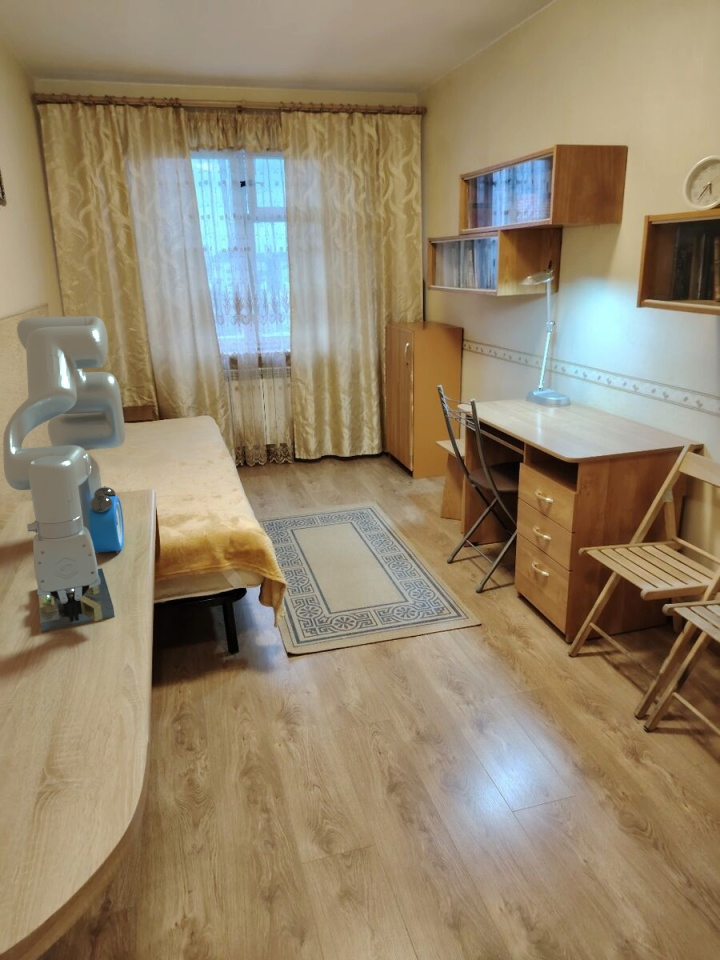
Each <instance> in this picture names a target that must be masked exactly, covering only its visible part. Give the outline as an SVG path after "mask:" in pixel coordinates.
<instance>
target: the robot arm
mask: <svg viewBox="0 0 720 960" xmlns="http://www.w3.org/2000/svg"><path fill="white" fill-rule="evenodd" d="M16 333H17V338H18V339H19V342H20V344H21V345H22V348H24V349H25V351H26V354H25V355H26V369H27V370H26V371H27V372H26V373H27V393H28V396H27V398H26V400H25V401H23V403H21V404H20V406H18V408H17V409H16V410H15V411H14V413H12V415H11V416H10V418H9V420H8V422H7V424H6V426H5V429H4V432H3V437H2V439H3V440H2V447H3V448H2V449H3V451H2V452H3V455H2V456H3V459H2V460H3V472H4V477H5V479H6V482H7V484H8V485H9V486H10V487H11V488H12V489H14V490H18V491H30V493H31V494H30V495H31V500H32V506H33V512H34V519H35V520H33V522H31V523H27V527H26V529H27V532H35V535H34V538H33V549H32V550H33V551H32V552H33V563H34V564H33V565H34V572H35V579H36V584H37V585H36V586H37V590H36V591H37V592H36V593H37V595H43V596H49V595H51V596H53V597H55V598H57V599H58V600H60V601H61V602H62V603H63V607H64V613H65V617H66V616H69V619H70V622H73V621H74V618H75V620H76V621H79V615H78V614H82V608H81V601H80V600H81V598H82V596H83V595H84V594H85V593H86V591H87V590H88V589H89V588H92V587H95V586H97V585H99V584H100V583H101V581H100V577H99V575H98V569H99V568H98V561H97V557H96V552H95V551H94V546H93V542H92V539H91V535H90V527H89V507H90V502H91V499H92V498H94V493H95V491H96V490H97V489H99V488H102V486H103V485H102V480H101V479H102V478H101V471H100V466H99V464H98V462H97V461H96V459H95V458H94V457H93V456H92V455H91V454H89V452H87V451H92V450H103V449H112V448H113V449H114V448H118V447H121V446H122V445H123V444H124V443H125V439H126V427H125V418H124V411H123V404H122V403H123V402H122V396H121V390H120V386H119V382H118V380H117V378H116V377H115V376H114V374H112V373H110V372H105V371H89V372H85V371H84V370H85V369H98V368H103V366H104V365H105V364H106V361H107V358H108V347H109V346H108V343H109V339H108V338H109V337H108V331H107V328H106V324H105V323H104V321H103V320H102V319H101V318H100V317H98V316H94V315H93V316H92V315H90V316H88V315H86V316H83V315H81V316H79V315H78V316H33V317H32V316H31V317H30V316H29V317H25V318H23V319H21V320H20V321H19V322H18V323H17V326H16ZM46 422H48V423H47V433H48V438H49V441H50V443H51V446H40V447H39V446H38V447H29V448H28V447H27V448H22V447H23V446H22V445H23V442H24V439H25V438H26V436H27V435H28V434H29V433H30V432H31V431H33V430H34V429H35V428H37V427H39V426H41V425H42V424H43V423H46ZM71 588H74V593H73V594H72V595H73V596H72V602H71V597H70V596H69V594H67V591H66V589H71ZM72 604H73V608H72ZM73 611H74V615H73Z"/></svg>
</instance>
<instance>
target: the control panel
mask: <svg viewBox="0 0 720 960" xmlns="http://www.w3.org/2000/svg"><path fill="white" fill-rule="evenodd" d="M98 575H99V577H100V581H101V583H100V584H99V585H98V588H99V593H97V594H95V595H91V594H87V593H85V594H84V596H85V597H87V598H89V599H91V600H93V601H94V602H96V603H98V604H100V605H101V611H102V619H100V620H99V621H101V620H105V619H110V618H115V610H114V608H115V607H114V604H113V601H112V597H111V595H110V591H109V587H108V584H107V580H106V577H105V573H104V570H103V568H98ZM37 595H38V594H37ZM37 598H38V608H39V611H38V613H39V623H40V630H41V633H45V632H49V631H54V630H58V629H59V630H60V629H64V628H68V627H74V626H78V625H82V624H87V623H92V622H95V621H94V620H92V619H91V618H89V617H87V616H85V615H84V614H78V615H79V621H76V620H75V618H74V621H73V622H70V619H69V616H66V617H65V613H64V611H60V610H59V609H58V605H57V598H55V597H53V596H51V595H49V596H43V595H38V597H37ZM73 615H74V611H73Z"/></svg>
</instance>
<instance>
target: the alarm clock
mask: <svg viewBox="0 0 720 960" xmlns="http://www.w3.org/2000/svg"><path fill="white" fill-rule="evenodd" d="M122 508H123V507H122V503H121V499H120V497H118V496H117V494H116V491H115V490H114V489H113V488H111V487H108V486H105V485H104V486H103V487H102V488H99V489H97V490H96V491H95V493H94V498H92V499H91V502H90V507H89V527H90V535H91V539H92V542H93V546H94V551H95V553H97V554H98V553H99V554H100V553H107V552H108V553H109V552H116V555H117V556H118V555H119V551H122V550H123V548H124V541H125V540H124V539H125V532H124V530H125V526H124V525H125V524H124V515H123V509H122Z"/></svg>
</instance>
